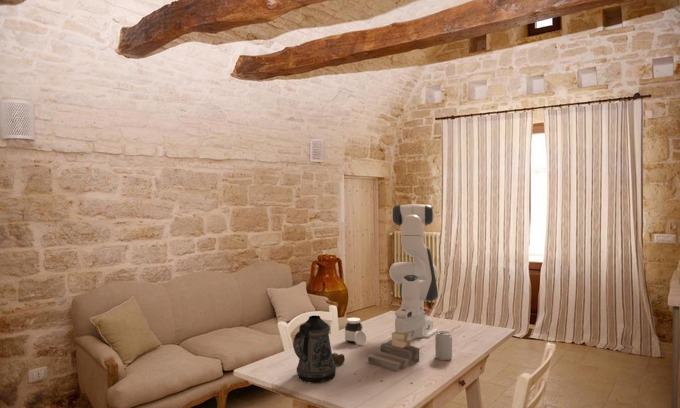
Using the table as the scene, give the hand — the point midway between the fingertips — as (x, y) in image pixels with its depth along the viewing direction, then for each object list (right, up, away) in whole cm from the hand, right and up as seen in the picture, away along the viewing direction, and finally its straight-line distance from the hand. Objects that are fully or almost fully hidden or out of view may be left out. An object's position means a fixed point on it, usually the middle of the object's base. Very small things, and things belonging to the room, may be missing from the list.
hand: (411, 339), depth 225 cm
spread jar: (-25, -7, +19) cm, 32 cm away
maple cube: (-5, -1, -6) cm, 8 cm away
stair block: (-9, -7, -9) cm, 15 cm away
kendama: (-40, -8, -6) cm, 41 cm away
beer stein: (-44, -8, -27) cm, 52 cm away
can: (+14, -8, -5) cm, 17 cm away
